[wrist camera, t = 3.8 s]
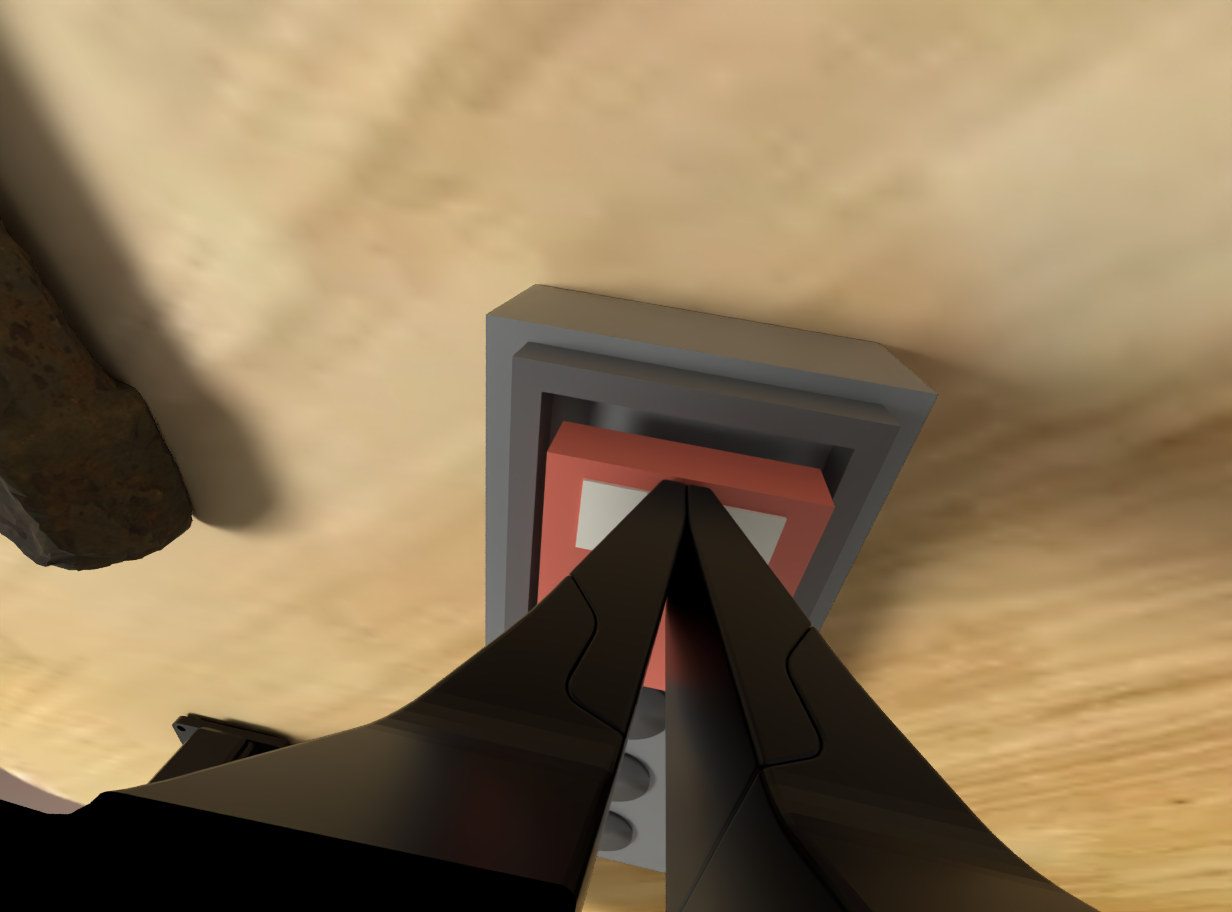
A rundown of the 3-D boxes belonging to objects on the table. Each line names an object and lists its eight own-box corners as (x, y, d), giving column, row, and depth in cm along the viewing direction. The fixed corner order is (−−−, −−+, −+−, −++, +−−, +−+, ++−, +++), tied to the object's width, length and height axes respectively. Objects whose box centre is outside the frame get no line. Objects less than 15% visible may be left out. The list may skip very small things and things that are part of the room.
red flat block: (737, 663, 12) (741, 709, 11) (546, 622, 13) (533, 665, 12) (820, 469, 9) (835, 509, 8) (563, 420, 10) (546, 454, 8)
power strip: (694, 789, 23) (693, 910, 19) (512, 748, 24) (476, 858, 20) (879, 343, 12) (963, 415, 8) (535, 284, 13) (465, 327, 9)
